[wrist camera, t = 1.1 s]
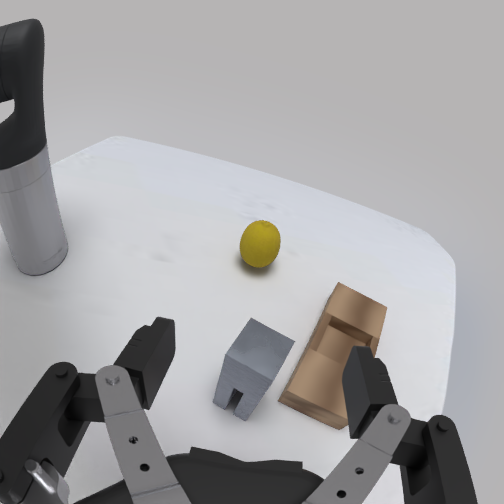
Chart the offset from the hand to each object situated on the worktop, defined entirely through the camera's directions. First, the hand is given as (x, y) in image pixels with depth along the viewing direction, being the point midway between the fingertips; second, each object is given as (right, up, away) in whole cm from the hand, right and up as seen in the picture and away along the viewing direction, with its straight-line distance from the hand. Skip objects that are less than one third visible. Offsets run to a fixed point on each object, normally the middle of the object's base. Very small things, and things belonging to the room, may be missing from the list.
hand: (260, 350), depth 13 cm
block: (-2, -11, +18) cm, 21 cm away
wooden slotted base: (+10, -9, +24) cm, 27 cm away
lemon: (0, +2, +33) cm, 33 cm away
